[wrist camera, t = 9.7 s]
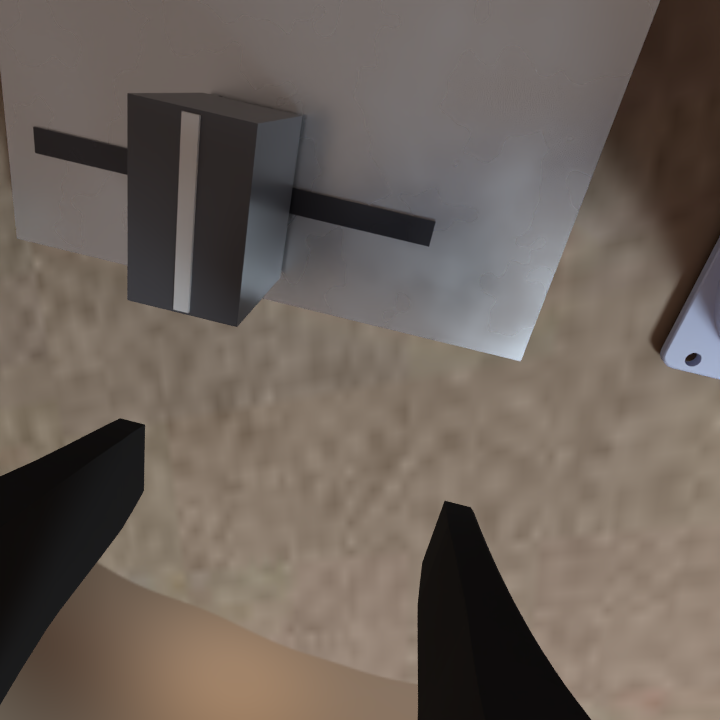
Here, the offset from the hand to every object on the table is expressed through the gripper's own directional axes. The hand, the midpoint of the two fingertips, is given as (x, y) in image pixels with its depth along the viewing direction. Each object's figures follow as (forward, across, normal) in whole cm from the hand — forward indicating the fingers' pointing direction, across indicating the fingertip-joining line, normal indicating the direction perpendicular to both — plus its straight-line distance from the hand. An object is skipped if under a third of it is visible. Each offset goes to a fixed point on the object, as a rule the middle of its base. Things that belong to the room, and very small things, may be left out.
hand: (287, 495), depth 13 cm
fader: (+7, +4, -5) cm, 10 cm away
